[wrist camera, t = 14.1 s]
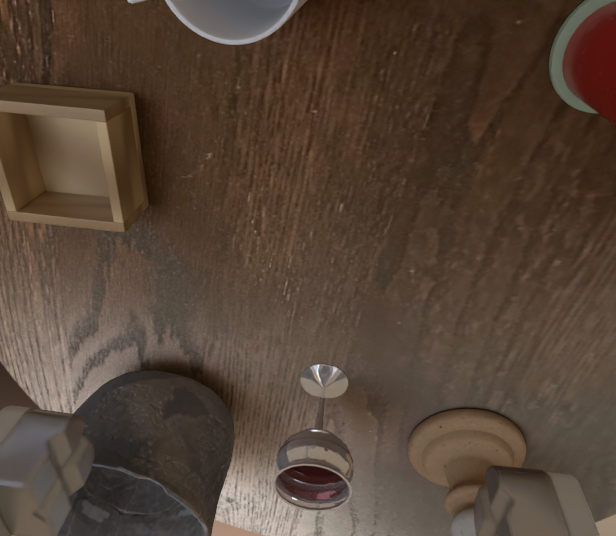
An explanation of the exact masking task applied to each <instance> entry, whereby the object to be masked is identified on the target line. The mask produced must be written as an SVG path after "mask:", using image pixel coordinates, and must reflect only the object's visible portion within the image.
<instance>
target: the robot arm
mask: <svg viewBox="0 0 616 536" xmlns="http://www.w3.org/2000/svg"><path fill="white" fill-rule="evenodd" d="M86 427H87V424H86V422H85V419H84V417H83V415H76V414H69V413H62V412H55V411H47V410H40V409H34V408H26V407H18V406H10V405H8V406H7V407H5V408H4V409H2V410H0V536H11V535H14V536H57V534H58V532H59V530H60V529H61V527H62V525H63V523H64V521H65V519H66V517H67V516H68V514H69V512H70V510H71V508H72V503H71V496H70V495H72V494H73V493H74V492H76V491H77V490H78V489H80V488H81V487H83V486H84V484H85V482H86V480H87V478H88V476H89V474H90V472H91V468H92V464H93V461H94V445H93V442H92V439H90V438H89V437H88V436H87V435H86V434H85V433H83V432H84V431H85V429H86ZM484 476H485V481H486V485H485V486H483V487H481V488H479V489H478V492H477V495H476V498H475V505H474V524H475V531H476V536H600V535H599V532H598V530H597V527H596V525H595V522H594V519H593V517H592V514H591V512H590V509H589V507H588V504H587V501H586V499H585V496H584V494H583V491H582V489H581V486H580V483H579V481H578V480H577V479H576V478H575V476H574V475H571V474H564V473H554V472H545V471H543V470H535V469H525V468H516V467H507V466H497V465H491V466H489V467H488V468H487V470H486V473H485V475H484Z"/></svg>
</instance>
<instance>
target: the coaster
mask: <svg viewBox="0 0 616 536" xmlns="http://www.w3.org/2000/svg"><path fill="white" fill-rule="evenodd" d="M614 1H616V0H585V1H584V2H583V3H581V4H580V5H579V6H578V7H577V8H576V9H575V10H574V11H573V12H572V13H571V14H570V15H569V17H568V18H567V19H566V20H565V22H564V23H563V25H562V26H561V28H560V29H559V31H558V33H557V35H556V37H555V40H554V42H553V45H552V48H551V52H550V58H549V74H550V79H551V82H552V85H553V87H554V89H555V91H556V92H557V94H558V95H559V97H560V98H561V99H563V100H564V101H565V102H566V103H567V104H569V105H570V106H572V107H573V108H575V109H578V110H580V111H584V112H588V113H598V112H596V111H595V110H594V109H592V108H591V107H589V106H588V105H587V104H585V103H584V102H582V101H581V100H580V99H578V98H577V97H576V96H574V95H573V94H572V93H571V92H570V90H569V89H568V87H567V85H566V83H565V81H564V78H563V72H562V62H563V56H564V52H565V49H566V46H567V44H568V42H569V40H570V38H571V36H572V35H573V33H574V32H575V30H576V29H577V28H578V26H579V25H580V24H581V23H582V22H583V21H584V20H585V19H586V18H587V17H588V16H589V15H591V14H592V13H593V12H594V11H596V10H597V9H599V8H601V7H603V6H604V5H606V4H609V3H611V2H614Z"/></svg>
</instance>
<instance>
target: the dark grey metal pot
mask: <svg viewBox="0 0 616 536" xmlns="http://www.w3.org/2000/svg"><path fill="white" fill-rule="evenodd" d="M74 414H76V415H83V417H84V419H85V422H86V424H87V427H86V429H85V431H84V432H83V433H85V434H86V435H87V436H88V437H89V438H90V439H92V442H93V445H94V461H93V464H92V468H91V472H90V474H89V476H88V478H87V480H86V482H85V484H84V486H83V487H81V488H80V489H78V490H77V491H76V492H74V493H73V494H72V495H70V496H71V503H72V508H71V510H70V512H69V514H68V516H67V517H66V519H65V521H64V523H63V525H62V527H61V529H60V530H59V532H58V534H57V536H211V533H212V527H213V522H214V518H215V514H216V508H217V504H218V500H219V496H220V493H221V490H222V488H223V485H224V481H225V479H226V476H227V472H228V469H229V466H230V461H231V457H232V451H233V443H234V424H233V420H232V416H231V413H230V412H229V410H228V409H227V407H226V405H225V404H224V402H223V401H222V400H221V399H220V398H219V397H218V396H217V395H216V394H215V393H214V392H213V391H212V390H211V389H210V388H208V387H206V386H204V385H202V384H200V383H198V382H197V381H195V380H193V379H191V378H188V377H184V376H181V375H177V374H173V373H168V372H162V371H155V370H149V371H136V372H130V373H126V374H124V375H121V376H119V377H117V378H114V379H112V380H110V381H108V382H107V383H105V384H103V385H102V386H101V387H100V388H99V389H98V390H97V391H96V392H94V393H93V394H92V395H91V396H90V397H89V398H88V399H87V400H86V401H85V402H84V403H83V404H82V405H81V406H80V407H79V408H78V409H77V410H76V411H75V413H74Z"/></svg>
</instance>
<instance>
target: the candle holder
mask: <svg viewBox="0 0 616 536" xmlns="http://www.w3.org/2000/svg"><path fill="white" fill-rule="evenodd" d="M408 456H409V459H410V462H411V464H412V465H413V467H414V468H415V470H416V471H417V472H418V473H419V474H420V475H422V476H423V477H424V478H426V479H428V480H429V481H431V482H433V483H436V484H438V485H441V486H445V487H449V489H450V491H449V493H448V494H447V495H446V497H445V501H444V504H445V508H446V510H447V512H448V513H449V514H450V515H451V516H452V517H453V519H452V521H451V524H450V534H451V536H476V531H475V524H474V505H475V498H476V495H477V492H478V489H479V488H481V487H483V486H485V485H486V481H485V476H484V475H485V473H486V470H487V468H488V467H489V466H491V465H497V466H507V467H516V468H521V466H522V465H523V463H524V461H525V457H526V443H525V440H524V437H523V435H522V433H521V432H520V430H519V429H518V428H517V427H516V425H514V424H513V423H512V422H511V421H510V420H508V419H506V418H505V417H503V416H501V415H498V414H496V413H493V412H489V411H486V410H480V409H455V410H448V411H445V412H441V413H438V414H436V415H433V416H431V417H429V418H427V419H425V420H424V421H423V422H421V423H420V424H419V425H418V426H417V427H416V428H415V429H414V431H413V432H412V434H411V436H410V438H409V441H408Z"/></svg>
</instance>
